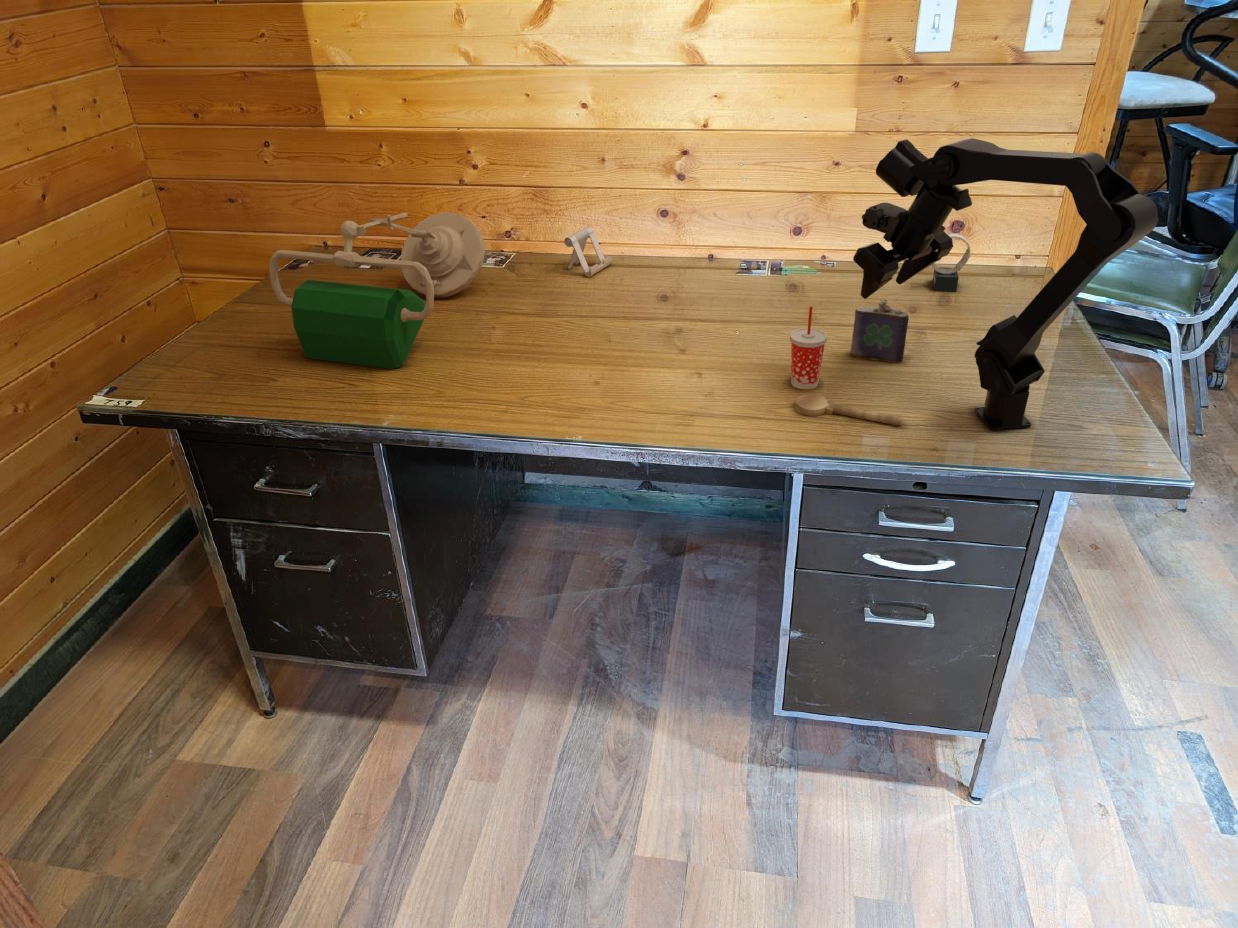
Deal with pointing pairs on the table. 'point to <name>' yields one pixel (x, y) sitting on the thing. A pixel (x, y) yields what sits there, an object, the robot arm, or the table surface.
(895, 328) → the flask
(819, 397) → the spoon
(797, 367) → the beverage cup
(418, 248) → the banker's lamp
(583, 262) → the tablet stand
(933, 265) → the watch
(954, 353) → the table surface
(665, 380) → the table surface
